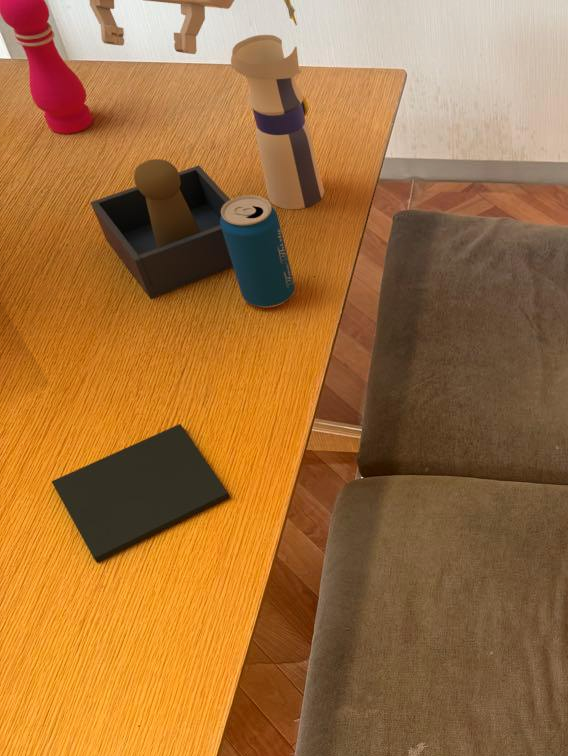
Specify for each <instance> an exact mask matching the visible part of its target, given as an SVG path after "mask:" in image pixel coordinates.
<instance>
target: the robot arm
mask: <svg viewBox="0 0 568 756" xmlns="http://www.w3.org/2000/svg"><path fill="white" fill-rule="evenodd" d="M143 1H146V2H155V3H165V4H174V5H175V4H176V5H180V14H181V15H182V16H185V17H184V20H183V23H182V25H181V28H180V31H179V32H173V41H174V43H173V47H174V51H176V53H182V54H190V55H196V54H197V36H198V35H199V33H200V31H201V28H202V26H203V24H204V22H205V20H206V9H205V8H215V9H225V10H229V9H230V8H231V7H232V6H233V4H234V2H235V0H143ZM89 6H90V9H91V10H92V13H93V14H94V16H95V18H96V20H97V22H98V24H99V25H100V33H101V41H102V43H104V44H105V45H111V46H113V45H114V46H124V45H125V38H124V36H125V30H124V27H119V26H118V25H117V21H116V20H115V18H114V15H113V13H112V10H114V9H115V0H89Z"/></svg>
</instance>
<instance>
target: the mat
mask: <svg viewBox="0 0 568 756" xmlns="http://www.w3.org/2000/svg"><path fill="white" fill-rule="evenodd" d="M51 483H52V485H53V487H54V489H55V490H56V493H57V494H58V496H59V498H60V499H61V501H62V503H63V505H64V507H65V509H66V511H67V513H68V514H69V516H70V518H71V520H72V521H73V523H74V525H75V527H76V529H77V530H78V533H79V534H80V536H81V538H82V540H83V541H84V543H85V545H86V547H87V549H88V551H89V553H90V554H91V556H92V558H93V559H94V562H96V563H100V562H102V561H103V560H106V559H108V558H110V557H112V556H114V555H116V554H118V553H120V552H122V551H125V550H127V549H128V548H131V547H132V546H134V545H136V544H138V543H140V542H143V541H145V540H146V539H149V538H151V537H153V536H155V535H157V534H159V533H161V532H162V531H165V530H167V529H169V528H171V527H173V526H175V525H178V524H179V523H181V522H184V521H186V520H187V519H189V518H191V517H193V516H195V515H197V514H199V513H201V512H204V511H206V510H208V509H210V508H212V507H214V506H216V505H218V504H219V503H222V502H225V501H226V500H228V499H230V498H231V497H230V494H229V492H228V490H227V489H226V487H225V486H224V485H223V483H222V482H221V480H220V479H219V477H218V476H217V474H216V473H215V472H214V470H213V469H212V467H211V466H210V464H209V463H208V461H207V460H206V458H205V457H204V456H203V454H202V453H201V451H200V449H199V448H198V447H197V446H196V444H195V442H193V440H192V438H191V437H190V434H188V433H187V431H186V429H185V428H184V427H183V426H182V424H181V423H179V424H176V425H174V426H172V427H169V428H168V429H165V430H163V431H161V432H158V433H155V434H154V435H152V436H149V437H147V438H144V439H142V440H141V441H138V442H136V443H134V444H132V445H129V446H127V447H125V448H123V449H121V450H118V451H115V452H114V453H111V454H110V455H109V454H108V455H107V456H105V457H103V458H101V459H98V460H96V461H94V462H91V463H88V464H87V465H85V466H83V467H80V468H78V469H76V470H73V471H71V472H69V473H67V474H65V475H63V476H60V477H58V478H55V479H53V480H51Z"/></svg>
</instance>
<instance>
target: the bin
mask: <svg viewBox="0 0 568 756" xmlns="http://www.w3.org/2000/svg"><path fill="white" fill-rule="evenodd" d="M178 173H179V176H180V182H181V185H180V188H179V189H180V191H181V193H182V195H183V197H184V199H185V201H186V203H187V205H188V207H189V209H190V212H191V214H192V216H193V218H194V220H195V222H196V224H197V226H198V228H199V230H200V232H201V233H198V234H195V235H192V236H190V237H187V238H184V239H182V240H179V241H176V242H173V243H171V244H168V245H165V246H163V247H160V248H157V247H156V243H155V238H154V234H153V229H152V225H151V220H150V216H149V211H148V207H147V202H146V198H145V196H144V195H143V194H142V193H141V192H140V191H139V190H138V188H137V186H136V185H135V186H133V187H130V188H127V189H125V190H122V191H119V192H116V193H112V194H110V195H108V196H104V197H100V198H99V199H95V200H93V201H90V206H91V207H92V210H93V212H94V215H95V217H96V219H97V221H98V224H99V226H100V229H101V231H102V234H103V235H104V238H105V240H106V242H107V243H108V244H109V246H110V247H111V249H112V250H113V252H115V254H116V255H117V256H118V258H119V259H120V260H121V262H122V263H123V264H124V266H125V268H127V270H128V271H129V273H130V274H131V275H132V277H133V278H134V279H135V280H136V282H137V283H138V285H139V286H140V287H141V289H142V290H143V291H144V292H145V294H146V295H147V297H148V298H149V299H150V300H152V299H154V298H156V297H159V296H161V295H164V294H167V293H170V292H171V291H174V290H177V289H180V288H182V287H185V286H187V285H190V284H193V283H195V282H197V281H201V280H203V279H205V278H207V277H211V276H213V275H215V274H216V275H217V274H218V273H220V272H224V271H226V270H228V269H231V268H233V264H232V261H231V258H230V255H229V251H228V248H227V245H226V241H225V238H224V235H223V232H222V228H221V225H220V218H221V209H222V207H223V205H224V204H225V203H226V202H228V201H229V200H231V199H230V197H229V196H228V195H227V194H226V193H225V192H224V191H223V190H222V189H221V188H220V186H219V185H218V184H217V183H216V182H215V181H214V180H213V179H212V178H211V176H210V175H208V173H207V172H206V171H205V170H204V169H203V168H202V166H200V165H199V164H198V165H194V166H193V167H190V168H187V169H184V170H181V171H178Z"/></svg>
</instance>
